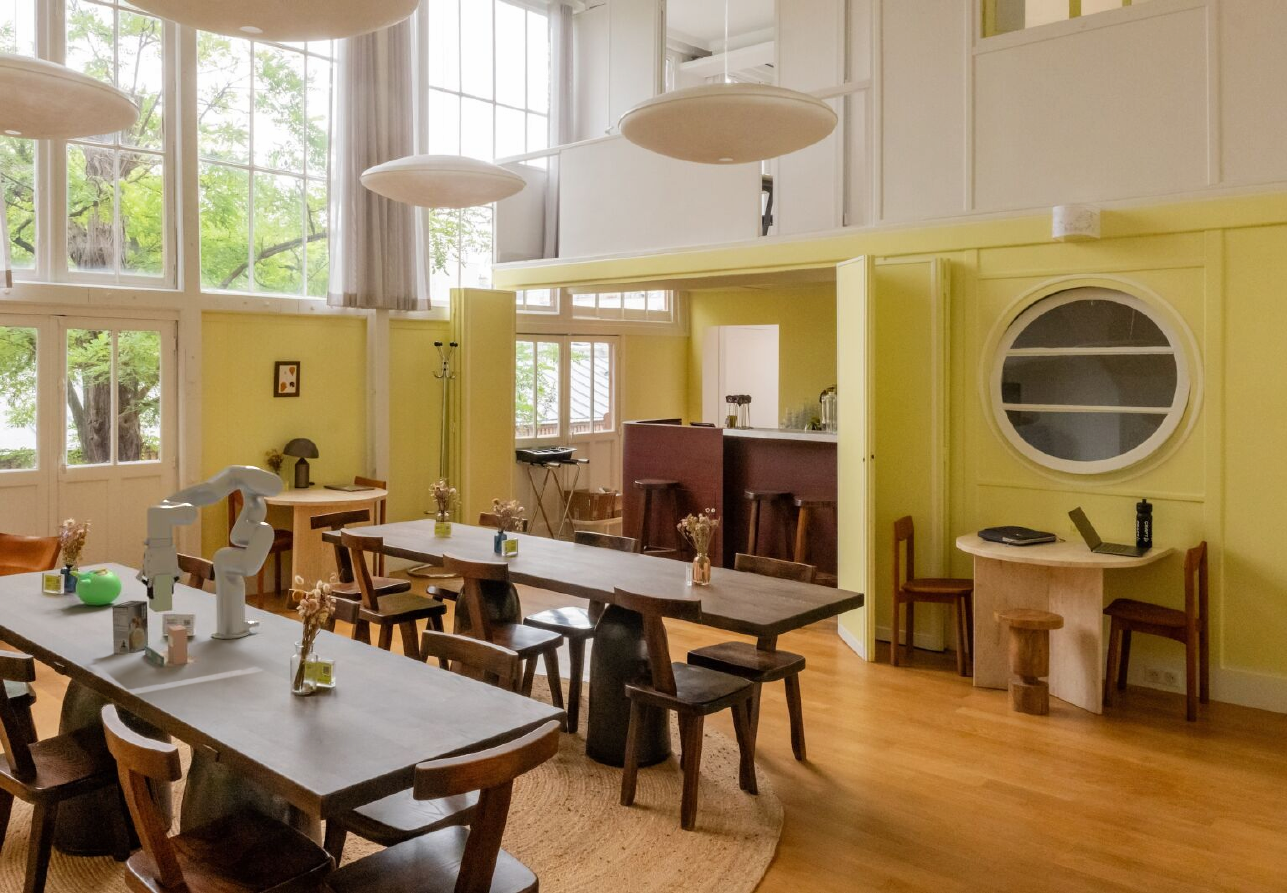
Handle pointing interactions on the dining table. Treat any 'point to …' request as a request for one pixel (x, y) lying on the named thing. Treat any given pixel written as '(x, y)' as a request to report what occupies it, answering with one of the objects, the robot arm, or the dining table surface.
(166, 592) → the sage carton
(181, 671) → the dining table surface
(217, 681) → the dining table surface
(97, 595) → the green teapot
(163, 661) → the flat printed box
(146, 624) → the coffee box
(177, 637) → the terracotta carton
